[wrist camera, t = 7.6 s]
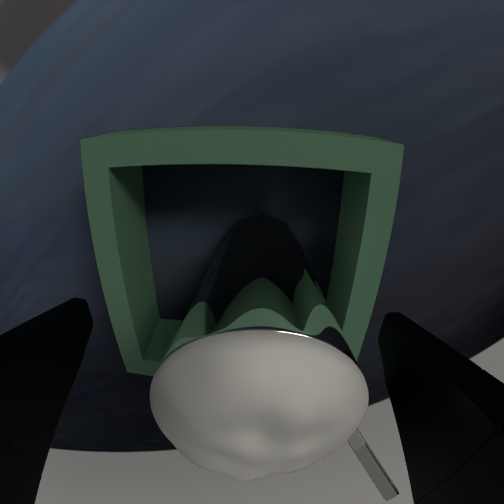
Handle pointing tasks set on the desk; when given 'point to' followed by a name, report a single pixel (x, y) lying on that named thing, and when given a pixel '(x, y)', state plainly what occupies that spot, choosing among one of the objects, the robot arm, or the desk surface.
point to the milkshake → (261, 366)
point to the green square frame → (232, 152)
